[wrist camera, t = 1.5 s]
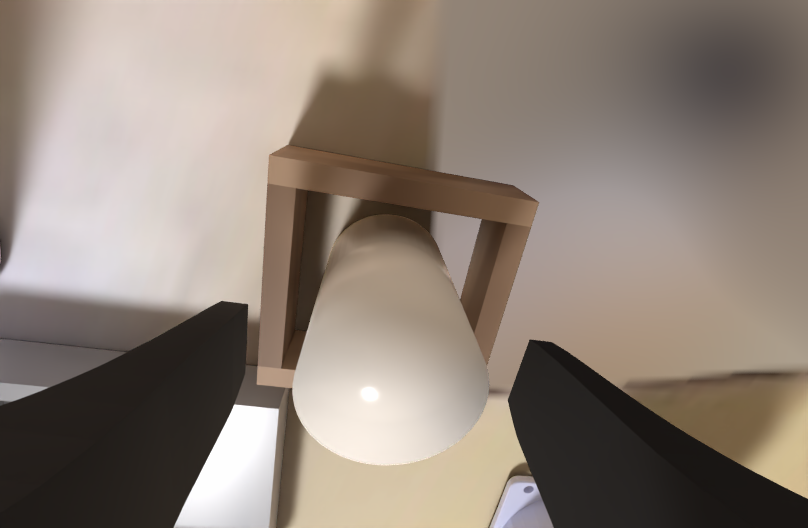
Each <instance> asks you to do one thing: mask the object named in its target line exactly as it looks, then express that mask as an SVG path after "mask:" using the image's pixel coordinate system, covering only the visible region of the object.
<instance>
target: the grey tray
mask: <svg viewBox="0 0 808 528" xmlns="http://www.w3.org/2000/svg"><path fill="white" fill-rule="evenodd" d="M125 353H127V352H122V351H112V350H103V349H94V348H85V347H75V346H66V345H57V344H47V343H38V342H29V341H19V340H10V339H1V338H0V406H1V405H4V404H6V403H9V402H12V401H15V400H18V399H21V398H23V397H26V396H29V395H31V394H34V393H37V392H39V391H42V390H44V389H47V388H49V387H51V386H54V385H56V384H59V383H61V382H64V381H66V380H68V379H71V378H73V377H76V376H78V375H80V374H83V373H85V372H87V371H89V370H92V369H94V368H96V367H98V366H100V365H102V364H105V363H107V362H109V361H111V360H113V359H115V358H117V357H119V356H121V355H123V354H125ZM257 368H258V366H252V365H246V370H245V376H244V379H243V382H242V384H241V387H240V390H239V393H238V396H237V398H236V401H235V404H234V406H233V409H232V412H231V414H230V416H229V418H228V420H227V422H226V424H225V426H224V428H223V430H222V432H221V434H220V436H219V438H218V440H217V442H216V443H215V445H214V447H213V449H212V451H211V453H210V455H209V457H208V459H207V461H206V463H205V465H204V467H203V469H202V471H201V473H200V475H199V477H198V479H197V481H196V483H195V484H194V486H193V488H192V490H191V492H190V494H189V496H188V498H187V500H186V502H185V504H184V506H183V508H182V511H181V513H180V515H179V517H178V519H177V521H176V524H175V526H174V528H276V527H277V516H278V506H279V495H280V484H281V473H282V463H283V452H284V441H285V431H286V420H287V409H288V399H289V388H285V387H275V386H266V385H257Z"/></svg>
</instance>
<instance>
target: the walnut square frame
mask: <svg viewBox="0 0 808 528" xmlns="http://www.w3.org/2000/svg"><path fill="white" fill-rule="evenodd" d="M308 190H310V191H316V192H322V193H328V194H334V195H340V196H346V197H352V198H358V199H364V200H370V201H376V202H383V203H389V204H395V205H401V206H407V207H413V208H419V209H425V210H431V211H437V212H443V213H449V214H455V215H461V216H467V217H473V218H479V219H482V221H481V224H480V228H479V232H478V235H477V239H476V243H475V247H474V251H473V254H472V258H471V262H470V265H469V269H468V273H467V277H466V281H465V284H464V288H463V291H462V295H461V299H460V301H461V304H462V306H463V309H464V311H465V314H466V316H467V318H468V321H469V323H470V326H471V328H472V330H473V333H474V335H475V338H476V340H477V343H478V345H479V347H480V350H481V352H482V355H483V357H484V360H485V362H486V365H487V364H488V361H489V358H490V354H491V351H492V348H493V345H494V342H495V338H496V336H497V332H498V329H499V326H500V323H501V320H502V317H503V314H504V311H505V307H506V304H507V301H508V298H509V295H510V292H511V289H512V286H513V282H514V279H515V276H516V273H517V270H518V267H519V264H520V260H521V257H522V254H523V251H524V248H525V245H526V242H527V238H528V235H529V232H530V229H531V226H532V223H533V220H534V217H535V214H536V210H537V207H538V204H539V202H538V201H536V200H535V199H533V198H532V197H530V196H529V195H527V194H526V193H524V192H523V191H521V190H519V189H518V188H516V187H515V186H513V185H508V184H502V183H497V182H491V181H486V180H480V179H475V178H469V177H463V176H458V175H452V174H446V173H441V172H436V171H430V170H425V169H419V168H413V167H408V166H402V165H397V164H391V163H385V162H380V161H374V160H369V159H363V158H358V157H352V156H346V155H341V154H335V153H330V152H324V151H318V150H313V149H307V148H302V147H296V146H291V145H287V146H285V147H283V148H281V149H279V150H277V151H276V152H274V153H272V154H270V155H269V166H268V184H267V203H266V221H265V239H264V258H263V276H262V295H261V313H260V332H259V350H258V368H257V385H266V386H275V387H285V388H293V379H294V374H295V370H296V367H297V363H298V360H299V357H300V353H301V350H302V347H303V343H304V340H305V336H306V333H307V331H301V330H295V324H296V313H297V302H298V292H299V281H300V270H301V260H302V249H303V238H304V228H305V217H306V206H307V195H308Z"/></svg>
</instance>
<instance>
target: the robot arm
mask: <svg viewBox="0 0 808 528" xmlns="http://www.w3.org/2000/svg"><path fill="white" fill-rule="evenodd" d="M247 318H248V304H241V303H233V302H225V301H221V302H219V303H217V304H215V305H213V306H211V307H209V308H208V309H206V310H204V311H202V312H201V313H199V314H197V315H195V316H194V317H192V318H190V319H188V320H187V321H185V322H183V323H181V324H179V325H178V326H176V327H174V328H172V329H170V330H169V331H167V332H165V333H163V334H161V335H160V336H158V337H156V338H154V339H152V340H151V341H149V342H147V343H145V344H143V345H141V346H139V347H137V348H135V349H133V350H131V351H129V352H127V353H125V354H123V355H121V356H119V357H117V358H115V359H113V360H111V361H109V362H107V363H105V364H102V365H100V366H98V367H96V368H94V369H92V370H89V371H87V372H85V373H83V374H80V375H78V376H76V377H73V378H71V379H68V380H66V381H64V382H61V383H59V384H56V385H54V386H51V387H49V388H47V389H44V390H42V391H39V392H37V393H34V394H31V395H29V396H26V397H23V398H21V399H18V400H15V401H12V402H9V403H6V404H4V405H1V406H0V528H174V526H175V524H176V521H177V519H178V517H179V515H180V513H181V511H182V508H183V506H184V504H185V502H186V500H187V498H188V496H189V494H190V492H191V490H192V488H193V486H194V484H195V483H196V481H197V479H198V477H199V475H200V473H201V471H202V469H203V467H204V465H205V463H206V461H207V459H208V457H209V455H210V453H211V451H212V449H213V447H214V445H215V443H216V442H217V440H218V438H219V436H220V434H221V432H222V430H223V428H224V426H225V424H226V422H227V420H228V418H229V416H230V414H231V412H232V409H233V406H234V404H235V401H236V398H237V396H238V393H239V390H240V387H241V384H242V382H243V379H244V376H245V370H246V344H247ZM508 403H509V407H510V412H511V416H512V420H513V424H514V427H515V431H516V435H517V438H518V440H519V443H520V446H521V448H522V451H523V453H524V456H525V458H526V461H527V463H528V466H529V468H530V471H531V473H532V476H533V477H532V476H520V475H519V476H514V477H512V478H510V479H509V481H508V482H507V485H506V487H505V490H504V493H503V495H502V498H501V500H500V503H499V505H498V508H497V510H496V513H495V515H494V518H493V520H492V523H491V525H490V528H808V499H807V498H805V497H803V496H801V495H798V494H796V493H794V492H792V491H790V490H788V489H786V488H784V487H782V486H781V485H779V484H777V483H775V482H773V481H771V480H769V479H767V478H765V477H763V476H761V475H759V474H757V473H755V472H753V471H751V470H749V469H748V468H746V467H744V466H742V465H740V464H738V463H737V462H735V461H733V460H731V459H729V458H727V457H726V456H724V455H722V454H720V453H719V452H717V451H715V450H714V449H712V448H710V447H708V446H707V445H705V444H703V443H702V442H700V441H698V440H696V439H695V438H693V437H691V436H690V435H688V434H686V433H685V432H683V431H682V430H680V429H678V428H677V427H675V426H674V425H672V424H670V423H669V422H667V421H666V420H664V419H663V418H661V417H660V416H658V415H657V414H655V413H654V412H652V411H651V410H649V409H648V408H646V407H645V406H643V405H642V404H640V403H639V402H637V401H636V400H635V399H633V398H632V397H630V396H629V395H627V394H626V393H624V392H623V391H622V390H620V389H619V388H617V387H616V386H615V385H613V384H612V383H610V382H609V381H608V380H606V379H605V378H603V377H602V376H601V375H599V374H598V373H597V372H595V371H594V370H592V369H591V368H590V367H588V366H587V365H585V364H584V363H583V362H581V361H580V360H578V359H577V358H576V357H574V356H573V355H571V354H570V353H568V352H567V351H565V350H564V349H562V348H561V347H559V346H557V345H555V344H554V343H552V342H546V341H537V340H529V343H528V346H527V349H526V351H525V354H524V357H523V360H522V362H521V365H520V368H519V371H518V373H517V376H516V379H515V382H514V385H513V387H512V390H511V393H510V396H509V398H508Z"/></svg>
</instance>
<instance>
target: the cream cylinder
mask: <svg viewBox="0 0 808 528" xmlns="http://www.w3.org/2000/svg"><path fill="white" fill-rule="evenodd" d="M488 393H489V373H488V369H487V365H486V362H485V360H484V357H483V355H482V352H481V350H480V347H479V345H478V343H477V340H476V338H475V335H474V333H473V330H472V328H471V326H470V323H469V321H468V318H467V316H466V314H465V311H464V309H463V306H462V304H461V301H460V299H459V297H458V294H457V292H456V289H455V287H454V285H453V282H452V280H451V277H450V275H449V272H448V270H447V268H446V265H445V263H444V260H443V258H442V255H441V253H440V250H439V248H438V246H437V244H436V242H435V240H434V239H433V237H432V236H431V235H430V233H429V232H428V231H427V230H426V229H425V228H423V227H422V226H421V225H419V224H418V223H416V222H414V221H413V220H411V219H408V218H405V217H402V216H398V215H391V214H380V215H373V216H369V217H366V218H363V219H361V220H359V221H357V222H355V223H353V224H352V225H350V226H349V227H348V228H346V229H345V230H344V231H343V232H342V233H341V234H340V236H339V237H338V238H337V240H336V241H335V243H334V245H333V247H332V250H331V252H330V256H329V259H328V262H327V266H326V269H325V272H324V276H323V279H322V282H321V286H320V289H319V293H318V296H317V299H316V303H315V306H314V309H313V313H312V316H311V320H310V323H309V326H308V330H307V333H306V336H305V340H304V343H303V347H302V350H301V353H300V357H299V360H298V363H297V367H296V370H295V374H294V379H293V393H292V395H293V401H294V406H295V409H296V412H297V415H298V417H299V419H300V421H301V423H302V424H303V426H304V427H305V429H306V430H307V431H308V433H309V434H310V435H311V436H312V437H313V438H314V439H315V440H316V441H318V442H319V443H320V444H321V445H323V446H324V447H325V448H327V449H329V450H330V451H332V452H333V453H336V454H338V455H340V456H342V457H344V458H347V459H350V460H353V461H357V462H361V463H366V464H374V465H401V464H407V463H413V462H417V461H420V460H424V459H427V458H429V457H432V456H435V455H437V454H439V453H441V452H443V451H445V450H446V449H448V448H450V447H451V446H453V445H454V444H456V443H457V442H458V441H459V440H461V439H462V438H463V437H464V436H465V435H466V434H467V433H468V432H469V431H470V430H471V429H472V428H473V426H474V425H475V424H476V422H477V421H478V419H479V418H480V416H481V414H482V412H483V410H484V407H485V405H486V402H487V398H488Z"/></svg>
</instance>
